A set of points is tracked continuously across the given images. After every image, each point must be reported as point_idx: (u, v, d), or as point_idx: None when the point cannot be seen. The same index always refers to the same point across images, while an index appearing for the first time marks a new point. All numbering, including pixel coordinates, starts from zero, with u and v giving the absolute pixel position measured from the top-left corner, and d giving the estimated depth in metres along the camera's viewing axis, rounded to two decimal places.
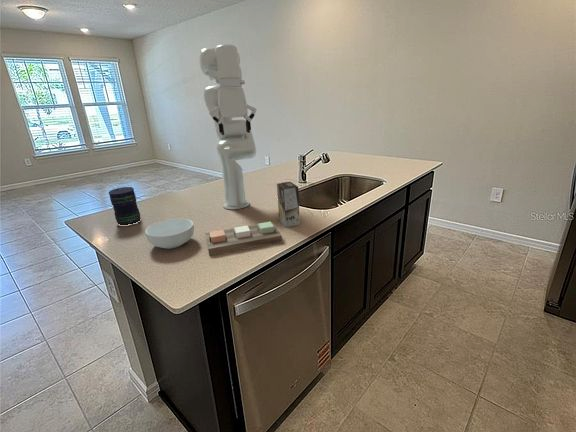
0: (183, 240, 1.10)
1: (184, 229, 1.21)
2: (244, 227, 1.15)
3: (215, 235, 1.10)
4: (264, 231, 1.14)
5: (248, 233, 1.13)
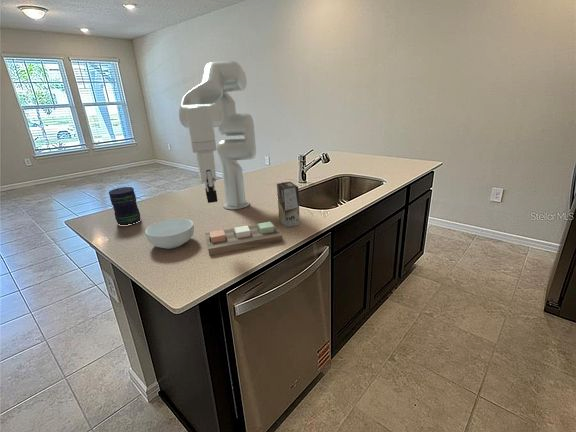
0: (183, 240, 1.10)
1: (184, 229, 1.21)
2: (244, 227, 1.15)
3: (215, 235, 1.10)
4: (264, 231, 1.14)
5: (248, 233, 1.13)
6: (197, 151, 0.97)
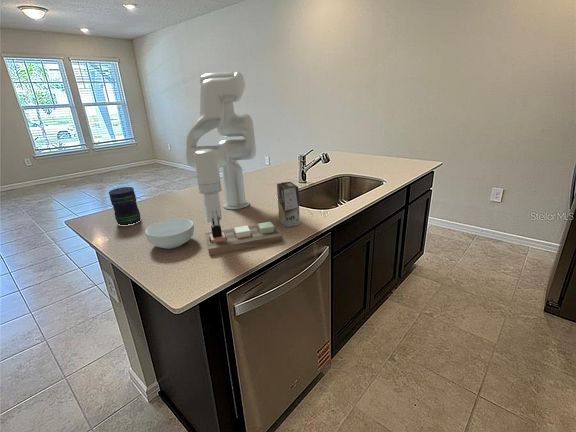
0: (183, 240, 1.10)
1: (184, 229, 1.21)
2: (244, 227, 1.15)
3: (215, 238, 1.10)
4: (264, 231, 1.14)
5: (248, 233, 1.13)
6: (203, 192, 1.02)
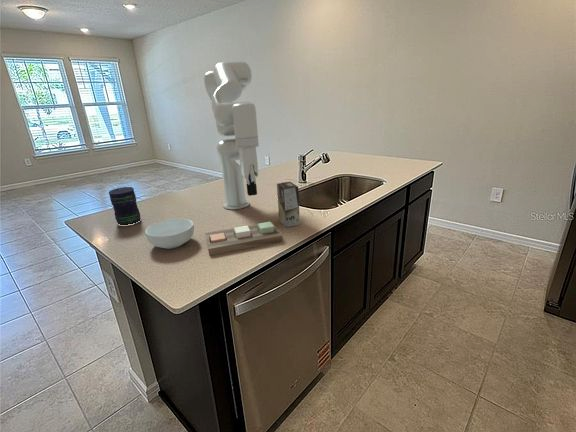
0: (183, 240, 1.10)
1: (184, 229, 1.21)
2: (244, 227, 1.15)
3: (215, 238, 1.10)
4: (264, 231, 1.14)
5: (248, 233, 1.13)
6: (241, 147, 1.01)
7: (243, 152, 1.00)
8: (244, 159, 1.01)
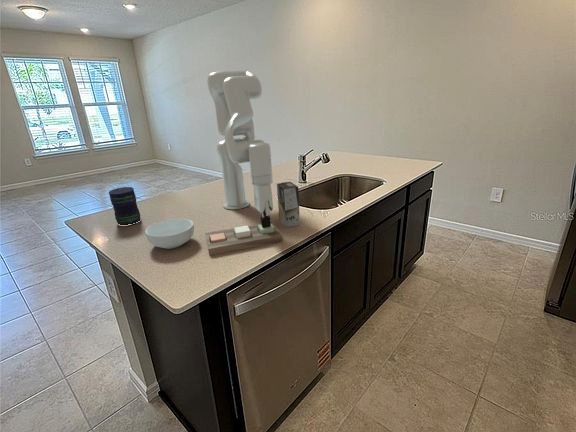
0: (183, 240, 1.10)
1: (184, 229, 1.21)
2: (244, 227, 1.15)
3: (215, 238, 1.10)
4: (264, 232, 1.14)
5: (248, 233, 1.13)
6: (257, 184, 1.07)
7: (259, 189, 1.06)
8: (260, 195, 1.07)
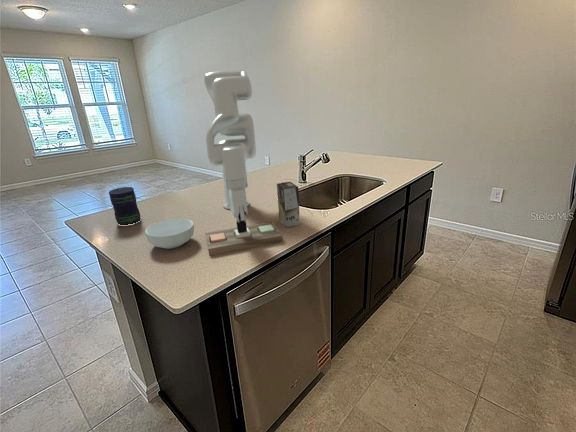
0: (183, 240, 1.10)
1: (184, 229, 1.21)
2: None
3: (215, 238, 1.10)
4: None
5: (249, 235, 1.13)
6: (231, 188, 1.04)
7: (233, 194, 1.04)
8: (234, 200, 1.04)
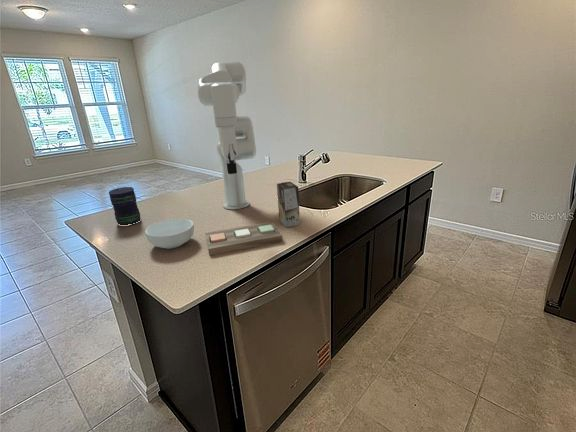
0: (183, 240, 1.10)
1: (184, 229, 1.21)
2: (245, 230, 1.16)
3: (215, 238, 1.10)
4: None
5: None
6: (220, 126, 1.05)
7: (222, 131, 1.04)
8: (223, 138, 1.05)
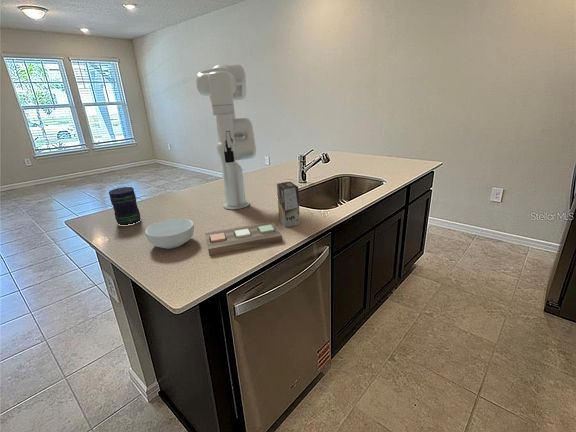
0: (183, 240, 1.10)
1: (184, 229, 1.21)
2: (245, 230, 1.16)
3: (215, 238, 1.10)
4: None
5: None
6: (218, 114, 1.06)
7: (219, 118, 1.06)
8: (220, 125, 1.06)
